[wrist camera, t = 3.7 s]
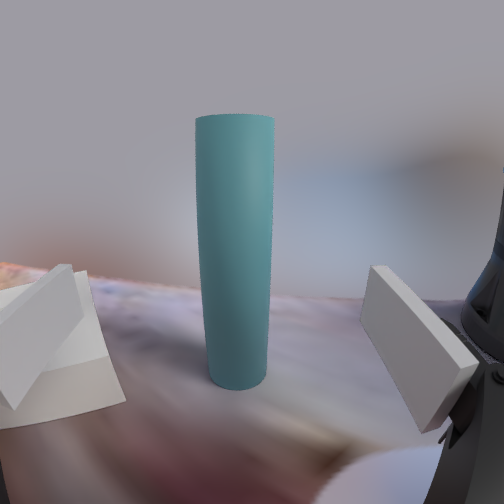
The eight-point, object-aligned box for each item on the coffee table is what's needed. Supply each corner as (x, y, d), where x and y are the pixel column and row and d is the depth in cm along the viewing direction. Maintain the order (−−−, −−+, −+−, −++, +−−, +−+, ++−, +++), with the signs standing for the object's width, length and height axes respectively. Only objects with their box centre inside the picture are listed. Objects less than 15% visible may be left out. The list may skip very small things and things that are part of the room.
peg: (277, 374, 21) (290, 119, 15) (228, 398, 18) (220, 111, 12) (244, 346, 24) (245, 124, 18) (199, 364, 22) (183, 121, 16)
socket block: (126, 401, 17) (109, 355, 16) (-37, 433, 8) (-68, 391, 7) (94, 305, 29) (86, 270, 28) (-17, 331, 21) (-30, 297, 19)
